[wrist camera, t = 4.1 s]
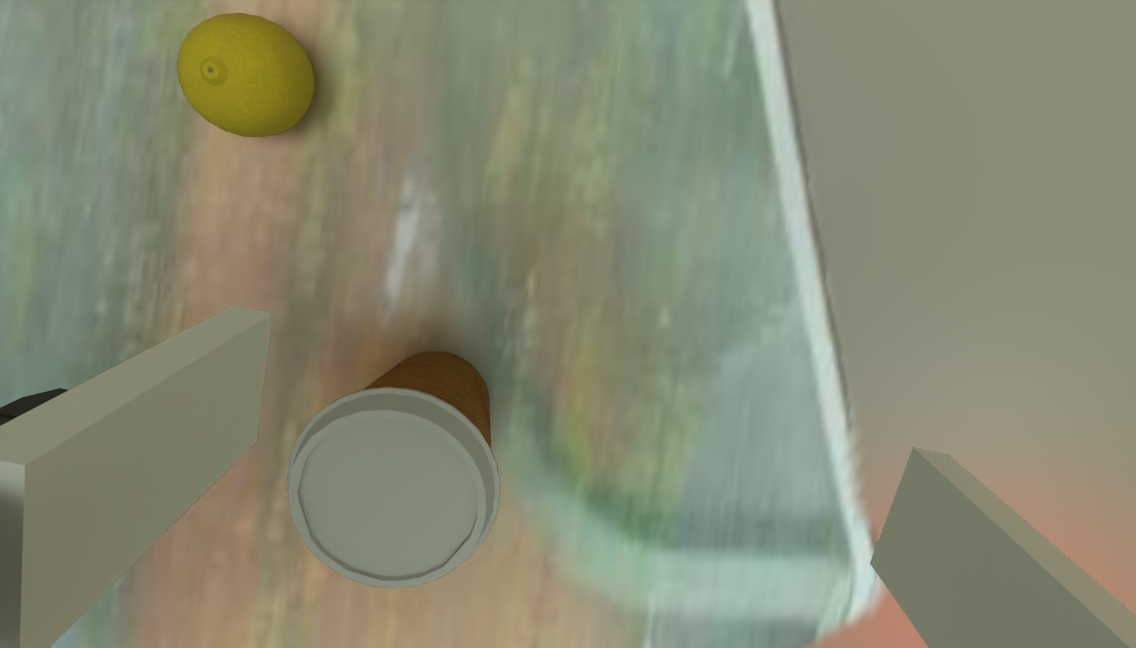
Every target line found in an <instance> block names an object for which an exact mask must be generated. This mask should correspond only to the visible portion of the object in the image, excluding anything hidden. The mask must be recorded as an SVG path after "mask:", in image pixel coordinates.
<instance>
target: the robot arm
mask: <svg viewBox="0 0 1136 648" xmlns="http://www.w3.org/2000/svg"><path fill="white" fill-rule="evenodd" d="M271 320H272V313H269V312H264V311H259V310H254V309H249V308H245V307H240V306H235V305H232V306H230V307H228V308H226V309H224V310H222V311H221V312H219V313H217V314H215V315H213V316H211V317H209V318H207V319H205V320H203V321H201V322H199V323H197V324H196V325H194V326H192V327H190V328H188V329H186V330H184V331H182V332H180V333H178V334H176V335H174V336H172V337H170V338H169V339H167V340H165V341H163V342H161V343H159V344H157V345H155V346H153V347H151V348H149V349H147V350H145V351H144V352H142V353H140V354H138V355H136V356H134V357H132V358H130V359H128V360H126V361H124V362H122V363H120V364H118V365H117V366H115V367H113V368H111V369H109V370H107V371H105V372H103V373H101V374H99V375H97V376H95V377H93V378H92V379H90V380H88V381H86V382H84V383H82V384H80V385H78V386H76V387H74V388H72V389H70V390H66V389H61V388H59V389H55V390H51V391H47V392H43V393H39V394H35V395H30V396H26V397H22V398H20V399H18V400H16V401H14V402H12V403H10V404H8V405H5V406H3V407H1V408H0V648H50V647H51V646H52V645H53V644H54V643H55V642H56V641H57V640H58V639H59V638H60V637H61V636H62V635H63V634H64V633H65V632H66V631H67V630H68V629H69V628H70V627H71V626H72V625H73V624H74V623H75V622H76V621H77V620H78V619H79V618H80V617H81V616H82V615H83V614H84V613H85V612H86V611H87V610H88V609H89V608H90V607H91V606H92V605H93V604H94V603H95V602H96V601H97V600H98V599H99V598H100V597H101V596H102V595H103V594H104V593H105V592H106V591H107V590H108V589H109V588H110V587H111V586H112V585H113V584H114V583H115V582H116V581H117V580H118V579H119V578H120V577H121V576H122V575H123V574H124V573H125V572H126V571H127V570H128V569H129V568H130V567H131V566H132V565H133V564H134V563H135V562H136V561H137V560H138V559H139V558H140V557H141V556H142V555H143V554H144V553H145V552H146V551H147V550H148V549H149V548H150V547H151V546H152V545H153V544H154V543H155V542H156V541H157V540H158V539H159V538H160V537H161V536H162V535H163V534H164V533H165V532H166V531H167V530H168V529H169V528H170V527H171V526H172V525H173V524H174V523H175V522H176V521H177V520H178V519H179V518H180V517H181V516H182V515H183V514H184V513H185V512H186V511H187V510H188V509H189V508H190V507H191V506H192V505H193V504H194V503H195V502H196V501H197V500H198V499H199V498H200V497H201V496H202V495H203V494H204V493H205V492H206V491H207V490H208V489H209V488H210V487H212V486H213V485H214V484H215V483H216V482H217V481H218V480H219V479H220V478H221V477H222V476H223V475H224V474H225V473H226V472H227V471H228V470H229V469H230V468H231V467H232V466H233V465H234V464H235V463H236V462H237V461H238V460H239V459H240V458H241V457H242V456H243V455H244V454H245V453H246V452H247V451H248V450H249V449H250V448H251V447H252V446H253V445H254V444H255V443H256V442H257V440H258V431H259V422H260V414H261V405H262V397H263V388H264V380H265V371H266V363H267V354H268V346H269V337H270V329H271ZM870 564H871V565H872V567H873V568H874V570H875V571H876V572H877V574H878V575H879V577H880V578H881V580H882V581H883V583H884V584H885V585H886V587H887V588H888V590H889V591H890V592H891V594H892V596H893V597H894V598H895V600H896V601H897V603H898V604H899V605H900V607H901V609H902V610H903V611H904V612H905V614H906V616H907V617H908V619H909V620H910V621H911V623H912V624H913V626H914V627H915V629H916V630H917V631H918V633H919V634H920V636H921V637H922V639H923V640H924V642H925V643H926V644H927V646H928V647H929V648H1136V615H1135V614H1134V613H1133V612H1132V611H1130V610H1129V609H1128V608H1127V607H1126V606H1125V605H1123V604H1122V603H1121V602H1120V601H1119V600H1117V599H1116V598H1115V597H1114V596H1113V595H1112V594H1110V592H1108V591H1107V590H1106V589H1105V588H1104V587H1103V586H1101V585H1100V584H1099V583H1098V582H1097V581H1095V580H1094V579H1093V578H1092V577H1091V576H1090V575H1089V574H1087V573H1086V572H1085V571H1084V570H1083V569H1081V568H1080V567H1079V566H1078V565H1077V564H1076V563H1075V562H1073V561H1072V560H1071V559H1070V558H1069V557H1067V556H1066V555H1065V554H1064V553H1063V552H1062V551H1061V550H1059V549H1058V548H1057V547H1056V546H1054V544H1052V543H1051V542H1050V541H1049V540H1048V539H1047V538H1045V537H1044V536H1043V535H1042V534H1041V533H1040V532H1038V531H1037V530H1036V529H1035V528H1034V527H1033V526H1031V525H1030V524H1029V523H1028V522H1026V520H1024V519H1023V518H1022V517H1021V516H1020V515H1019V514H1017V513H1016V512H1015V511H1014V510H1013V509H1012V508H1010V507H1009V506H1008V505H1007V504H1006V503H1005V502H1003V501H1002V500H1001V499H1000V498H999V497H998V496H996V495H995V494H994V493H993V492H992V491H990V490H989V489H988V488H987V487H986V486H985V485H984V484H982V483H981V482H980V481H979V480H978V479H977V478H975V477H974V476H973V475H972V474H971V473H970V472H968V471H967V470H966V469H965V468H964V467H963V466H961V465H960V464H959V463H958V462H957V461H956V460H954V459H953V458H952V457H951V456H950V455H948V454H943V453H939V452H934V451H929V450H924V449H920V448H915V447H914V448H913V449H912V452H911V455H910V457H909V460H908V463H907V465H906V468H905V471H904V473H903V476H902V479H901V481H900V484H899V487H898V490H897V492H896V495H895V498H894V500H893V503H892V506H891V509H890V511H889V514H888V516H887V519H886V522H885V524H884V527H883V530H882V533H881V535H880V538H879V541H878V543H877V546H876V549H875V551H874V554H873V557H872V559H871V562H870Z"/></svg>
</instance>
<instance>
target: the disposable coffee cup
mask: <svg viewBox="0 0 1136 648" xmlns="http://www.w3.org/2000/svg"><path fill="white" fill-rule="evenodd" d="M489 414H490V412H489V395H488V391H487V387H486V385H485V383H484V380H483V379H482V377H481V376H480V374H479V373H478V372H477V371H476V370H475V369H474V368H473V367H472V366H471V365H470V364H469V363H467V362H466V361H465V360H463V359H461V358H459V357H457V356H455V355H453V354H449V353H444V352H424V353H418V354H416V355H413V356H411V357H409V358H407V359H405V360H404V361H402V362H401V363H400V364H398V365H397V366H396V367H394V368H392V369H391V370H390V371H388V372H387V373H386V374H384V375H383V376H381V377H380V378H378V379H377V380H376V381H374V382H373V383H372V384H371V385H369V386H368V387H366V388H365V389H363V390H362V391H358V392H354V393H351V394H349V395H347V396H345V397H342V398H340V399H338V400H336V401H334V402H333V403H331V404H329V405H328V406H326V407H325V408H324V409H323V410H322V411H320V412H319V413H318V414H317V415H316V416H315V417H314V418H313V419H312V420H310V421H309V422H308V424H307V425H306V427H305V428H304V430H303V431H302V433H301V434H300V436H299V438H298V439H297V441H296V443H295V446H294V449H293V451H292V454H291V457H290V462H289V470H288V489H289V493H288V500H289V505H290V510H291V515H292V519H293V522H294V524H295V526H296V528H297V531H298V533H299V535H300V537H301V538H302V540H303V541H304V543H305V544H306V546H307V547H308V548H309V549H310V550H311V552H312V553H313V554H314V555H315V556H316V557H317V558H318V559H319V560H321V561H322V562H323V563H324V564H326V565H327V566H328V567H329V568H331V569H332V570H333V571H334V572H337V573H339V574H341V575H343V576H345V577H347V578H349V579H351V580H353V581H355V582H359V583H363V584H366V585H370V586H374V587H384V588H404V587H413V586H417V585H422V584H425V583H428V582H430V581H433V580H435V579H438V578H440V577H442V576H443V575H445V574H447V573H448V572H450V571H451V570H453V569H454V568H455V567H457V566H458V565H459V564H460V563H462V562H463V561H465V560H466V559H467V558H468V557H470V556H471V555H472V554H473V553H474V552H475V551H476V550H477V549H478V547H479V546H480V545H481V544H482V543H483V542H484V540H485V539H486V537H487V535H488V534H489V532H490V531H491V528H492V526H493V524H494V521H495V519H496V516H497V512H498V507H499V502H500V478H499V472H498V466H497V464H496V461H495V458H494V455H493V452H492V450H491V438H490V437H491V434H490V415H489Z"/></svg>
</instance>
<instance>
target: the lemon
mask: <svg viewBox="0 0 1136 648" xmlns="http://www.w3.org/2000/svg"><path fill="white" fill-rule="evenodd" d="M177 72H178V79H179V83H180V85H181V88H182V90H183V93H184V95H185V97H186V98H187V100H188V101H189V102H190V104H191V105H192V107H193V108H194V109H195V110H196V111H197V112H198V113H199V114H200V115H201V116H202V117H203V118H204V119H206V120H207V121H209V122H210V123H212V124H214V125H215V126H217V127H219V128H220V129H222V130H225V131H227V132H231V133H234V134H237V135H240V136H246V137H266V136H270V135H275V134H279V133H281V132H283V131H285V130H287V129H289V128H291V127H292V126H294V125H295V124H296V123H297V122H298V121H299V120H300V119H301V118H302V117H303V116H304V115H305V113H306V111H307V110H308V108H309V106H310V104H311V101H312V97H313V93H314V75H313V71H312V66H311V63H310V61H309V59H308V57H307V55H306V53H305V51H304V49H303V48H302V47H301V45H300V44H299V43H298V42H297V40H296V39H295V38H294V37H293V36H292V35H291V34H289V33H288V32H287V31H286V30H284V29H283V28H282V27H281V26H279V25H277V24H275V23H273V22H271V21H269V20H267V19H264V18H262V17H259V16H254V15H249V14H243V13H234V14H223V15H218V16H215V17H213V18H210V19H207V20H205V21H203V22H201V23H200V24H199V25H197V26H196V27H195V28H193V29H192V30H191V31H190V32H189V34H188V35H187V37H186V38H185V39H184V41H183V42H182V45H181V48H180V51H179V53H178V61H177Z"/></svg>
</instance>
